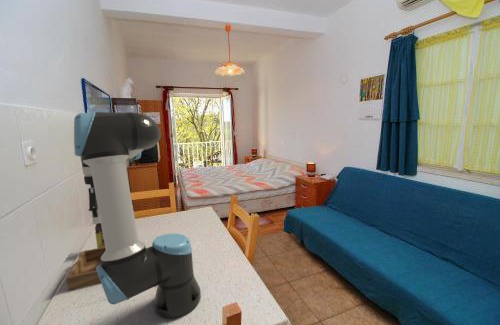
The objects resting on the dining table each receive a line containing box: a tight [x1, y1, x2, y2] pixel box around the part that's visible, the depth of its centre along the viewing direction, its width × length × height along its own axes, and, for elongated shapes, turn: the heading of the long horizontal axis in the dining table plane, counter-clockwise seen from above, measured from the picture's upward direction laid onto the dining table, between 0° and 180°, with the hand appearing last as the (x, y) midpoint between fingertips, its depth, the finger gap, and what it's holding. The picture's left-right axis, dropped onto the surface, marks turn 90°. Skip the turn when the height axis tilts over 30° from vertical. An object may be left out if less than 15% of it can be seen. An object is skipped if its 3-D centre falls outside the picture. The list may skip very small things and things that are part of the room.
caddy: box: [66, 247, 106, 292], centre depth 98 cm, size 20×22×6 cm
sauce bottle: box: [94, 223, 105, 249], centre depth 111 cm, size 7×6×20 cm
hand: (100, 217), depth 110 cm, fingers open, 13 cm apart
